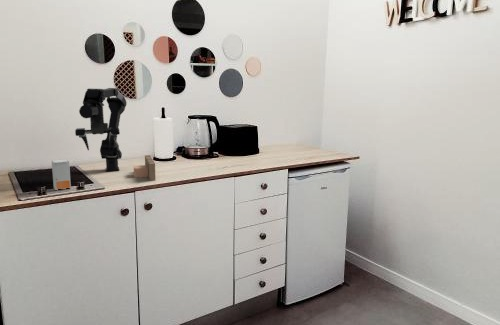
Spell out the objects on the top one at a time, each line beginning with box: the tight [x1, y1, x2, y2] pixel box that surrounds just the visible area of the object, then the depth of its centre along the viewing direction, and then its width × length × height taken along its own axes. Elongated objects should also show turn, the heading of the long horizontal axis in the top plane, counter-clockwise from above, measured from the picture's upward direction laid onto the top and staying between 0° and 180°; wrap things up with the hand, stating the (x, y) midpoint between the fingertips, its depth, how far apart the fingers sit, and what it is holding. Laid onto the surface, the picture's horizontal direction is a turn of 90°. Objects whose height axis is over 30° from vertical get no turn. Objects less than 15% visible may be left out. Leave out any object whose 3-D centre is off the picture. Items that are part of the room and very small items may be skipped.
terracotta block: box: [133, 164, 148, 178], centre depth 176 cm, size 6×6×4 cm
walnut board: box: [144, 154, 156, 181], centre depth 177 cm, size 21×2×8 cm, turn 21°
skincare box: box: [51, 159, 72, 191], centre depth 151 cm, size 6×4×12 cm
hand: (99, 149), depth 171 cm, fingers open, 9 cm apart
